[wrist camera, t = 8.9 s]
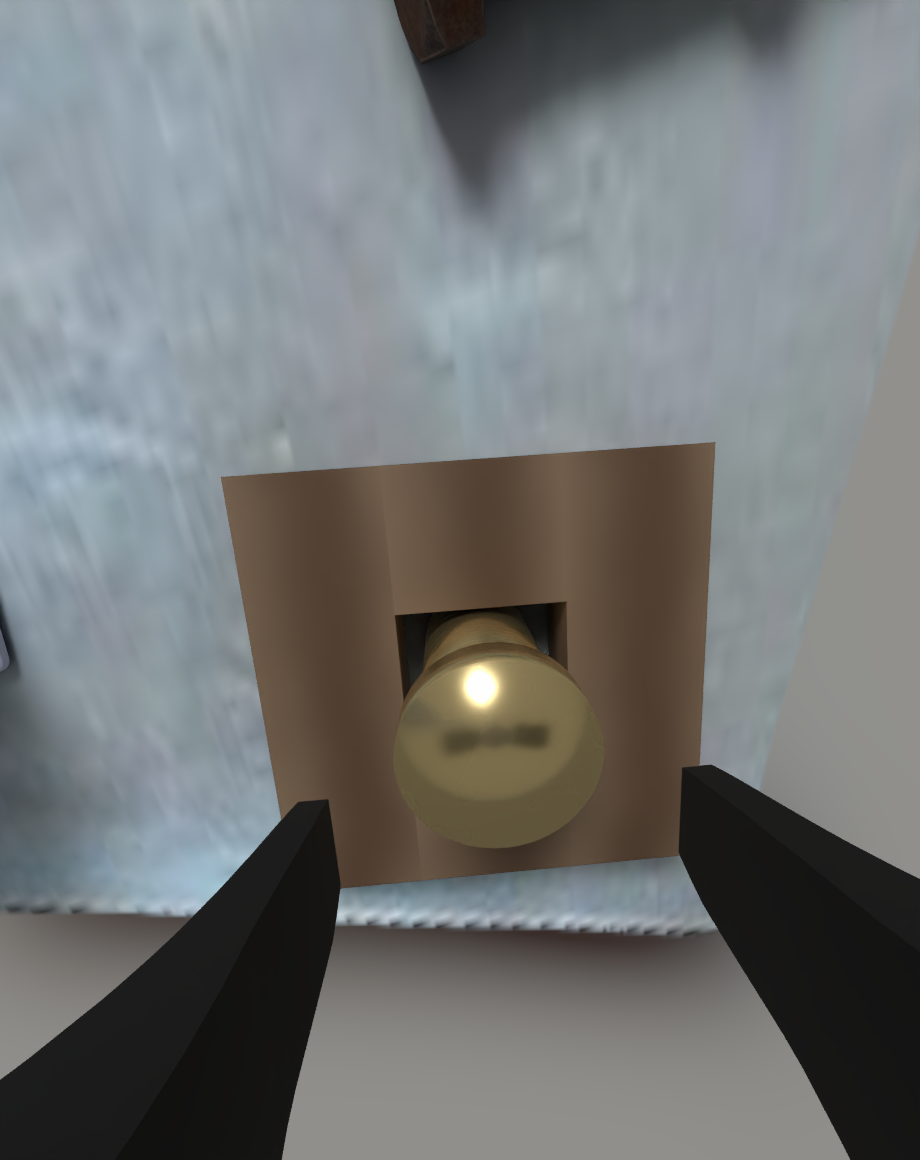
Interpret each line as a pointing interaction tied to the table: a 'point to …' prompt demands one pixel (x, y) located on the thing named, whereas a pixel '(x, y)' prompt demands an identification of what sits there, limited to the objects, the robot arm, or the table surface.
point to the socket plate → (471, 581)
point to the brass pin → (494, 734)
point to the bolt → (440, 25)
